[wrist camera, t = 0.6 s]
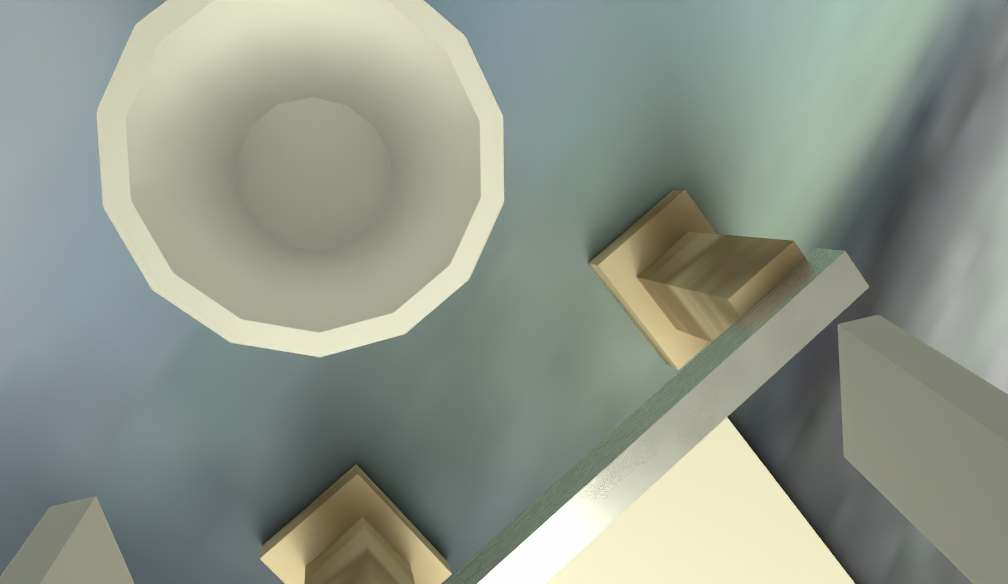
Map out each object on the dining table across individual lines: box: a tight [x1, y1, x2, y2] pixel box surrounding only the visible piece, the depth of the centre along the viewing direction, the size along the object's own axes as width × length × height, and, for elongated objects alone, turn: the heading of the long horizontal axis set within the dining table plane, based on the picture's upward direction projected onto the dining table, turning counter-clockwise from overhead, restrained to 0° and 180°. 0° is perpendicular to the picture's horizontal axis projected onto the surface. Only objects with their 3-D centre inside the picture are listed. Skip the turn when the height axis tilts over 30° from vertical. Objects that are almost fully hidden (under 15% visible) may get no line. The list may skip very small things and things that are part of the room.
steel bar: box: [444, 248, 869, 584], centre depth 25 cm, size 22×2×2 cm, turn 129°
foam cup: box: [96, 0, 504, 357], centre depth 25 cm, size 10×9×13 cm
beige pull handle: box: [260, 190, 805, 584], centre depth 30 cm, size 23×6×9 cm, turn 129°
